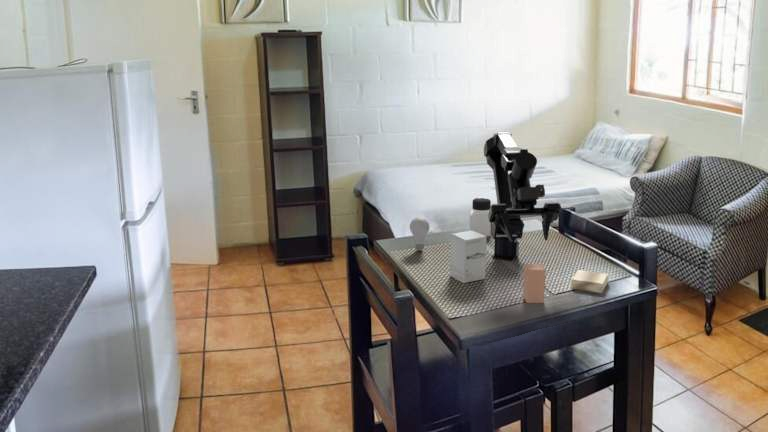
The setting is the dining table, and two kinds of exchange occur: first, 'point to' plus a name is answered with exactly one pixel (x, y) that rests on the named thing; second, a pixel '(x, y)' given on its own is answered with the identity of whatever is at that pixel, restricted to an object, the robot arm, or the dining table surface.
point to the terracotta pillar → (534, 283)
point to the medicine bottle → (480, 216)
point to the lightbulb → (419, 231)
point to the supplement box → (468, 256)
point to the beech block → (589, 281)
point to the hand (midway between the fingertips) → (529, 240)
